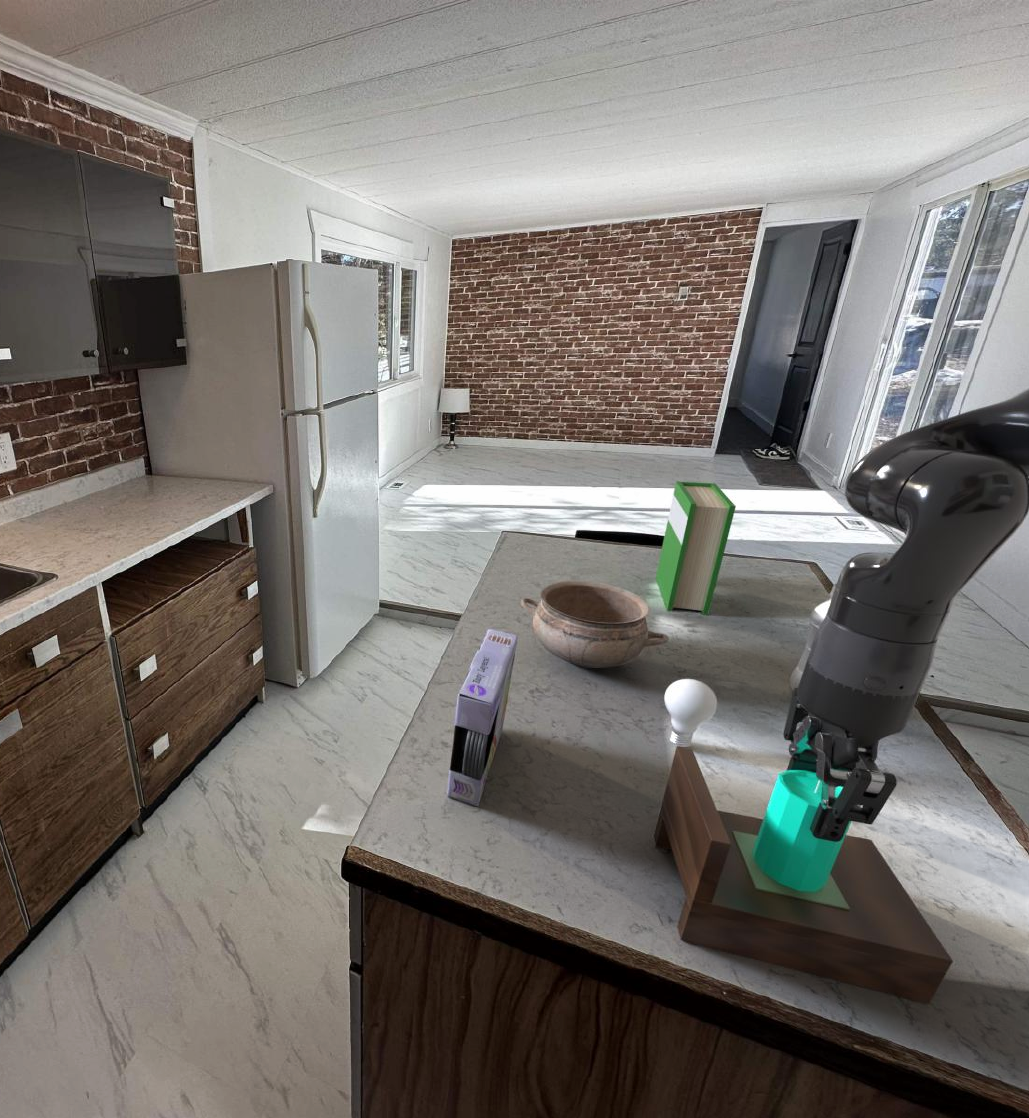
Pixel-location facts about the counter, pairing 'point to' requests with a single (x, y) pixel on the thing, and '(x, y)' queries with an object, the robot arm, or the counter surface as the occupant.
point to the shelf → (793, 900)
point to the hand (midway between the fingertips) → (809, 811)
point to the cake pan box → (480, 716)
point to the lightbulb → (688, 708)
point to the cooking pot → (592, 623)
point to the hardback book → (694, 545)
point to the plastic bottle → (810, 638)
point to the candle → (795, 834)
